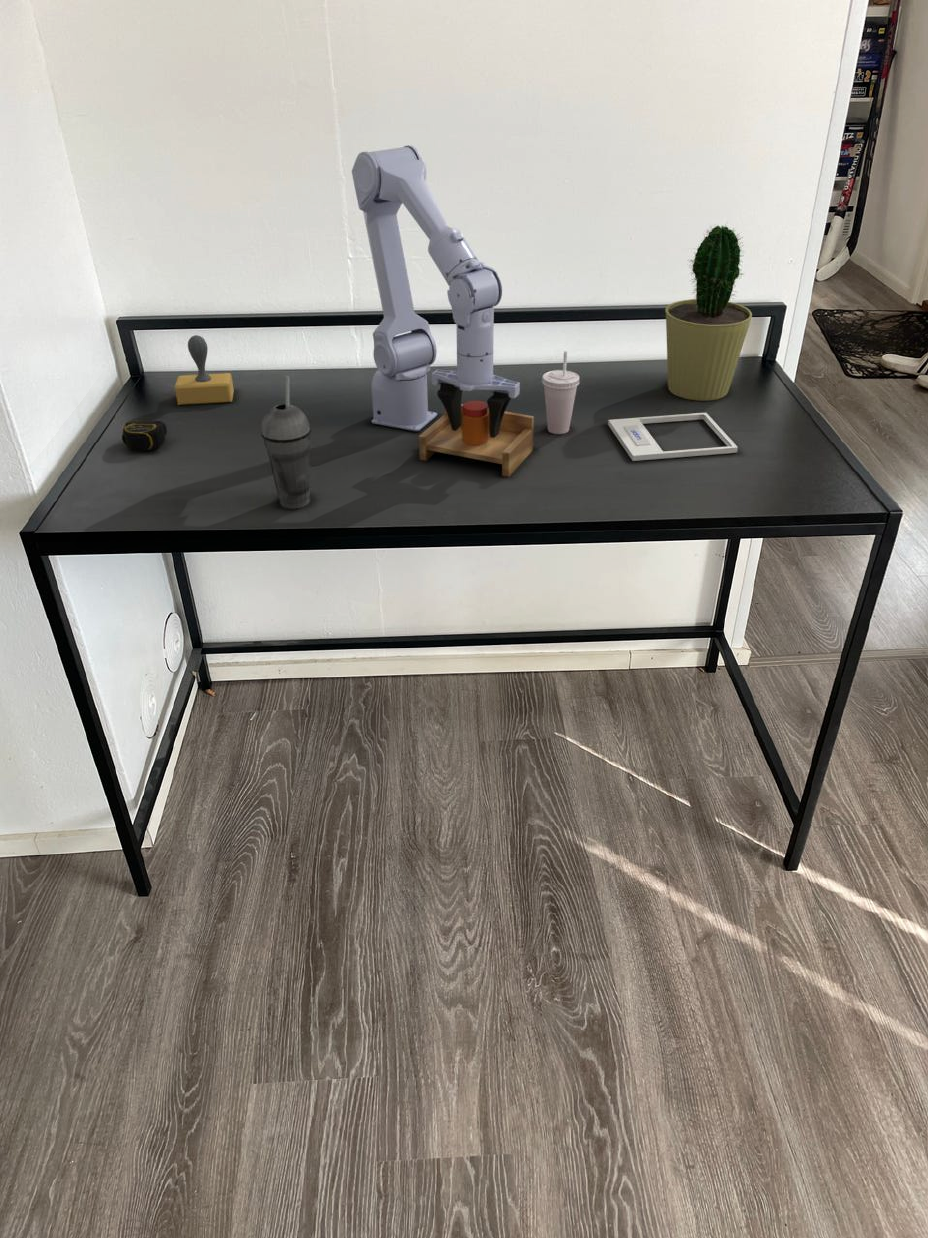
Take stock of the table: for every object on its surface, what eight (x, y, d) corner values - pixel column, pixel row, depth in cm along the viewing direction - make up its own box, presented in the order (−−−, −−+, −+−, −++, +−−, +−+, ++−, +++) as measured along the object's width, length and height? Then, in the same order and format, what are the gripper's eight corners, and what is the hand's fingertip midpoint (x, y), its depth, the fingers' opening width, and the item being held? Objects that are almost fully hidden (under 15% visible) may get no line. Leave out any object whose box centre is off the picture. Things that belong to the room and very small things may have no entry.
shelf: (419, 459, 157) (418, 424, 153) (447, 434, 165) (446, 401, 161) (508, 477, 151) (509, 441, 148) (532, 450, 159) (534, 416, 156)
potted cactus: (655, 372, 188) (673, 211, 170) (735, 375, 186) (761, 213, 168) (657, 403, 175) (677, 232, 158) (743, 406, 173) (772, 234, 156)
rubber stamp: (234, 390, 182) (224, 329, 175) (231, 402, 177) (221, 339, 170) (181, 393, 181) (169, 331, 174) (177, 405, 176) (165, 342, 169)
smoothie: (574, 438, 163) (579, 359, 155) (537, 435, 164) (540, 357, 156) (578, 423, 168) (583, 346, 160) (542, 420, 169) (545, 343, 161)
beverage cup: (273, 491, 148) (255, 367, 137) (319, 489, 149) (306, 365, 137) (269, 514, 142) (250, 386, 131) (317, 511, 143) (303, 384, 131)
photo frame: (608, 418, 167) (706, 411, 169) (608, 424, 167) (705, 417, 169) (633, 454, 155) (738, 446, 157) (632, 460, 155) (737, 452, 158)
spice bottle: (457, 442, 155) (457, 408, 152) (468, 432, 158) (468, 398, 155) (482, 447, 154) (482, 412, 150) (492, 436, 157) (493, 402, 153)
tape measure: (169, 437, 165) (165, 416, 163) (162, 454, 160) (158, 433, 157) (130, 438, 165) (125, 418, 163) (121, 455, 159) (116, 435, 157)
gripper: (421, 352, 147) (424, 433, 155) (508, 365, 142) (506, 449, 150) (441, 338, 152) (443, 417, 160) (525, 350, 147) (523, 431, 155)
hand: (475, 431), depth 155 cm, fingers open, 6 cm apart
